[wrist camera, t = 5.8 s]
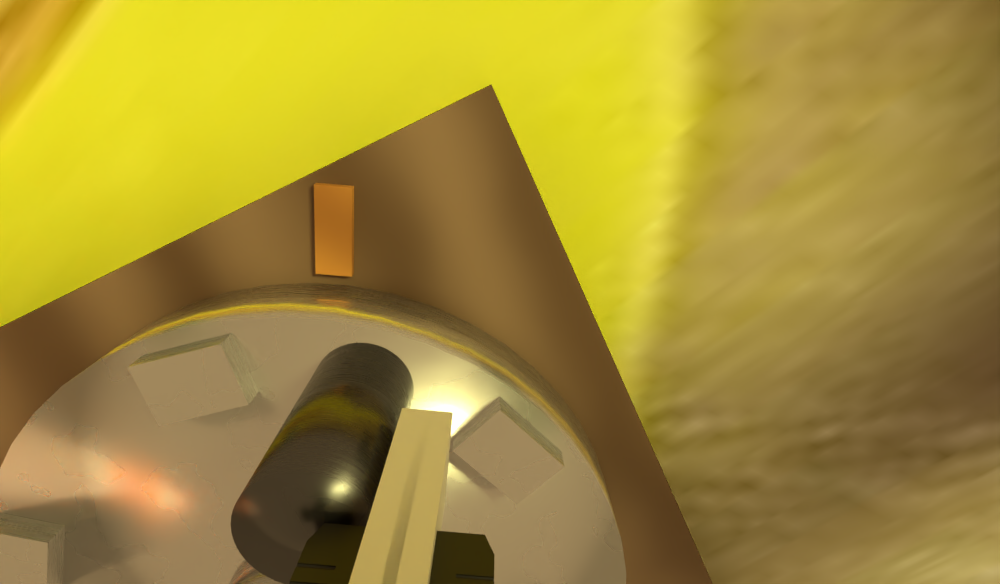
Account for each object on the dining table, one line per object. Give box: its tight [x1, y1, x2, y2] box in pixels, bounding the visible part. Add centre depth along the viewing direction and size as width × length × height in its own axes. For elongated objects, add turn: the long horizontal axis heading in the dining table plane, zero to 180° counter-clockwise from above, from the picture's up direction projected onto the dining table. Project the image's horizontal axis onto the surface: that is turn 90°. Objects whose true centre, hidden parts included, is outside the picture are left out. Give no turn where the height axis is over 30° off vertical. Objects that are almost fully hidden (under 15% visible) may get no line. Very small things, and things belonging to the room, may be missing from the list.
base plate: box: [0, 85, 712, 584], centre depth 25 cm, size 26×26×2 cm
